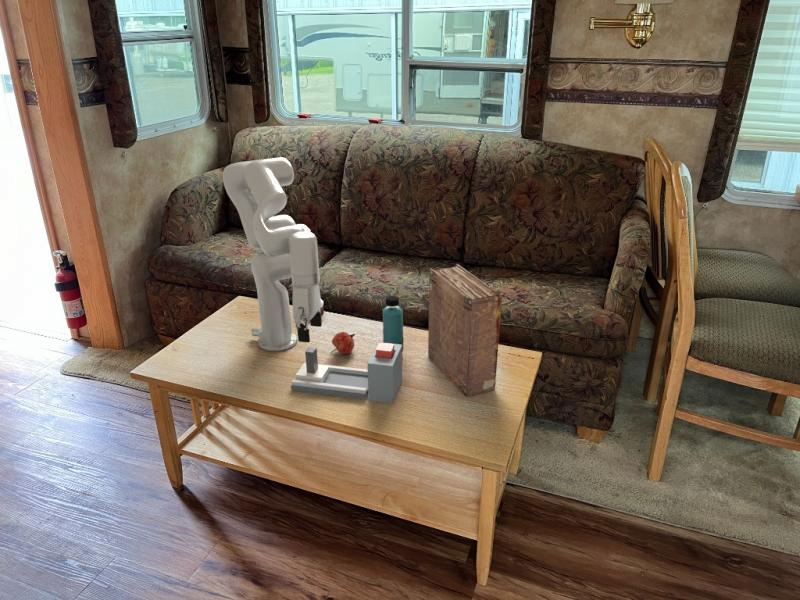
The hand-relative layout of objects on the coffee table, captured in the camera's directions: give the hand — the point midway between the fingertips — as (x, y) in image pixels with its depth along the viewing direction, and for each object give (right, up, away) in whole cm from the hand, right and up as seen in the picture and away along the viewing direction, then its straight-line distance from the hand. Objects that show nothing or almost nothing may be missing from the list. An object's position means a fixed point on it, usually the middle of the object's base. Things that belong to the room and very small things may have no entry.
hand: (310, 333), depth 175 cm
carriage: (0, -13, +7) cm, 14 cm away
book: (+43, -12, +11) cm, 47 cm away
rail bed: (+6, -15, +6) cm, 17 cm away
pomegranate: (+7, -7, +23) cm, 25 cm away
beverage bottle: (+23, -8, +21) cm, 32 cm away
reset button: (+21, -7, -2) cm, 22 cm away
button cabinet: (+21, -16, +3) cm, 27 cm away
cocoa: (-5, +4, +47) cm, 48 cm away
